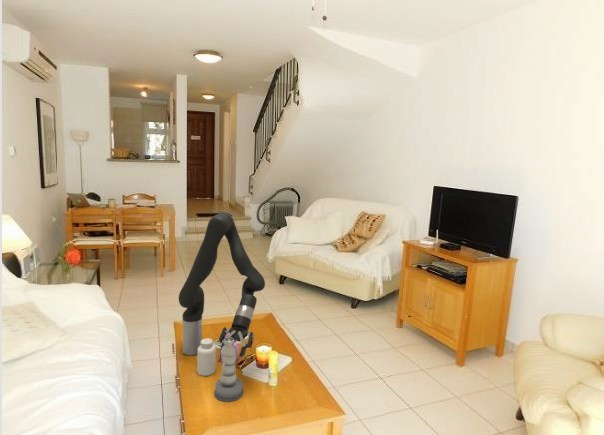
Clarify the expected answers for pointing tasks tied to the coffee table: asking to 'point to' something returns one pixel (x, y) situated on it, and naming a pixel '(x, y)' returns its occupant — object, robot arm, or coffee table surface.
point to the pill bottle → (206, 357)
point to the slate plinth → (228, 391)
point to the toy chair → (234, 345)
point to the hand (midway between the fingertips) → (231, 354)
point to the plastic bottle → (228, 362)
